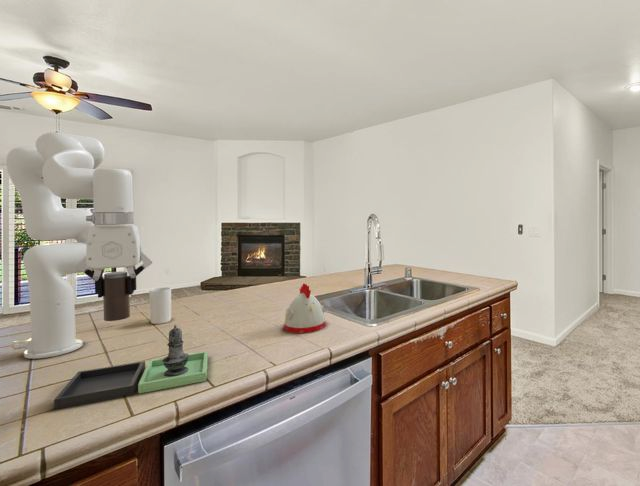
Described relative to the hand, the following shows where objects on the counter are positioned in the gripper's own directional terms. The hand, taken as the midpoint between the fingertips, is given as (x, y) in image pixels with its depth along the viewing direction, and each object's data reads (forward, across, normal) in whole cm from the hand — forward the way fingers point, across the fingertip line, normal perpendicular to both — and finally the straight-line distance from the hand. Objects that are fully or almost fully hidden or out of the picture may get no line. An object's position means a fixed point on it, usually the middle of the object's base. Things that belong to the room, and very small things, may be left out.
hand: (116, 294), depth 88 cm
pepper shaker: (+6, 0, 0) cm, 6 cm away
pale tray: (+21, +12, -3) cm, 25 cm away
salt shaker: (+21, +12, -3) cm, 24 cm away
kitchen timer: (+21, +50, +20) cm, 58 cm away
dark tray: (+21, -2, -3) cm, 21 cm away
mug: (+21, +3, +51) cm, 56 cm away
